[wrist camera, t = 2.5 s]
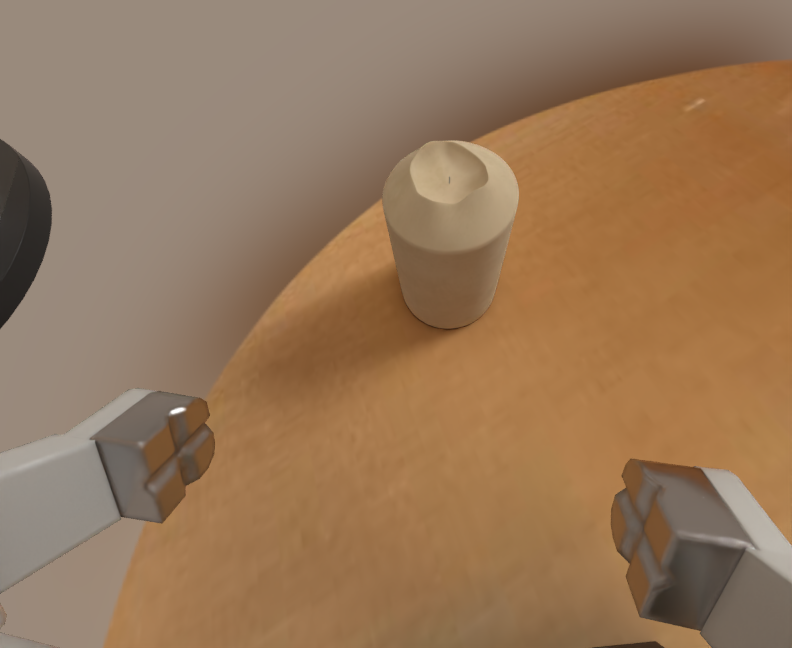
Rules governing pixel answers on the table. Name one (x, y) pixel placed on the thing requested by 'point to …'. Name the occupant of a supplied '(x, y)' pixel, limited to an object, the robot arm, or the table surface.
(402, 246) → the candle
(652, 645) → the scale
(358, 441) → the table surface
